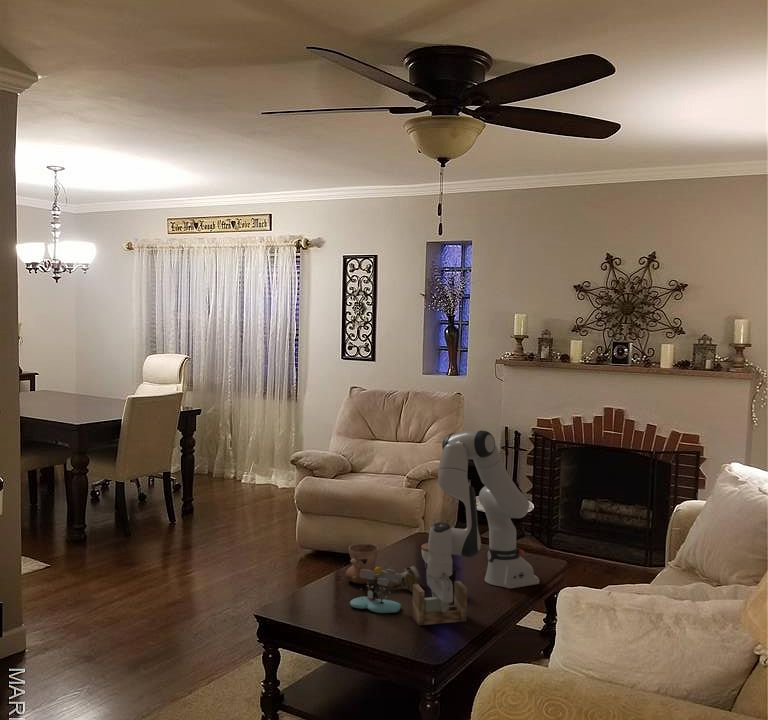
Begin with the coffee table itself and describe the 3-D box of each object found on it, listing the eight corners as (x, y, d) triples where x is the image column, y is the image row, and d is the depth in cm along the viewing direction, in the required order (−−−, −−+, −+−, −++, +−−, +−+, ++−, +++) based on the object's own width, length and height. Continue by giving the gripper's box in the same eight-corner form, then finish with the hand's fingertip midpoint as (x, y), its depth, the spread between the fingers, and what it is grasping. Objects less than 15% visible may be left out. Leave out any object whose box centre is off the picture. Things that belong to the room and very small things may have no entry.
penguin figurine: (345, 608, 286) (346, 568, 286) (359, 599, 296) (359, 560, 295) (393, 618, 278) (394, 576, 277) (406, 608, 287) (406, 568, 286)
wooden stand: (459, 612, 283) (459, 580, 282) (466, 621, 275) (467, 588, 275) (412, 616, 279) (412, 584, 278) (418, 625, 271) (419, 592, 270)
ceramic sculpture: (426, 563, 313) (413, 576, 299) (426, 583, 314) (413, 597, 300) (401, 560, 317) (388, 573, 303) (402, 580, 318) (388, 594, 304)
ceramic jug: (366, 590, 305) (367, 555, 304) (337, 583, 312) (337, 549, 312) (390, 578, 320) (390, 544, 319) (361, 571, 328) (361, 539, 327)
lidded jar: (416, 561, 343) (417, 540, 342) (437, 558, 347) (438, 538, 347) (428, 568, 333) (428, 547, 333) (449, 565, 338) (450, 544, 337)
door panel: (446, 614, 279) (446, 595, 279) (448, 616, 277) (449, 597, 277) (423, 617, 276) (423, 598, 276) (425, 619, 274) (425, 600, 274)
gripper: (457, 577, 267) (457, 616, 267) (439, 559, 287) (439, 596, 287) (440, 579, 265) (440, 618, 266) (423, 560, 285) (422, 597, 286)
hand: (439, 606), depth 277 cm, fingers open, 8 cm apart
